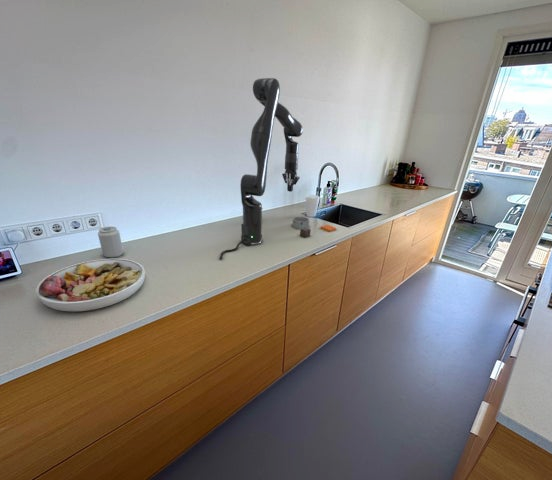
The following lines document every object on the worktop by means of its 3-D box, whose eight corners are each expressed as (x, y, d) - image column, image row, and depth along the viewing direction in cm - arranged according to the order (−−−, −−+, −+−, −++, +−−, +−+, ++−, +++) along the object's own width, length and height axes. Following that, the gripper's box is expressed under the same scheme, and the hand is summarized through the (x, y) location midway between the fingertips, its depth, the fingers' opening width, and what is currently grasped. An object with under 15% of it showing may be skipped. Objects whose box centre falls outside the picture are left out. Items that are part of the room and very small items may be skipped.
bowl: (125, 262, 118) (121, 245, 114) (162, 290, 101) (159, 270, 98) (30, 289, 96) (21, 269, 93) (57, 330, 80) (48, 307, 76)
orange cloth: (329, 231, 169) (329, 229, 168) (320, 228, 173) (320, 226, 172) (335, 229, 172) (336, 227, 172) (326, 226, 177) (327, 224, 176)
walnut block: (305, 237, 157) (305, 230, 155) (299, 235, 159) (300, 228, 158) (310, 236, 160) (310, 229, 158) (304, 234, 162) (305, 227, 160)
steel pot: (300, 230, 167) (301, 222, 165) (289, 225, 174) (289, 218, 172) (312, 227, 174) (312, 219, 172) (300, 222, 180) (301, 215, 178)
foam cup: (313, 218, 190) (315, 199, 184) (301, 215, 194) (303, 196, 188) (320, 215, 197) (322, 196, 192) (308, 212, 201) (309, 194, 196)
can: (120, 249, 128) (115, 224, 123) (126, 255, 124) (120, 229, 118) (101, 254, 123) (94, 227, 118) (106, 260, 119) (99, 233, 113)
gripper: (278, 159, 166) (277, 189, 174) (294, 163, 158) (293, 194, 166) (288, 159, 171) (287, 188, 179) (304, 162, 163) (302, 192, 171)
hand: (289, 191), depth 172 cm, fingers closed
